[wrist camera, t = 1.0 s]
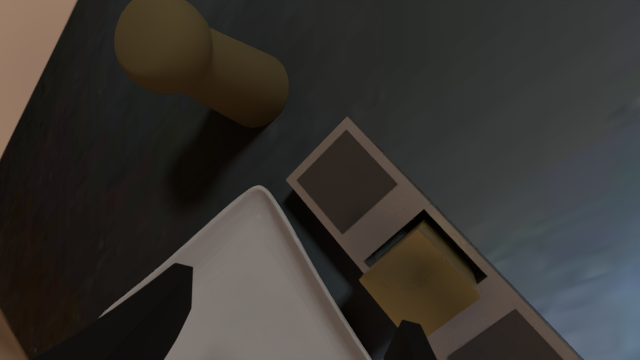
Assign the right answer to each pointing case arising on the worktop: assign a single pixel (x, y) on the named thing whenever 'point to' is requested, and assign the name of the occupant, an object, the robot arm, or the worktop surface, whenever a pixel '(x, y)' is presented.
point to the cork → (198, 62)
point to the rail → (394, 213)
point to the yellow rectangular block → (422, 279)
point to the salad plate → (256, 291)
